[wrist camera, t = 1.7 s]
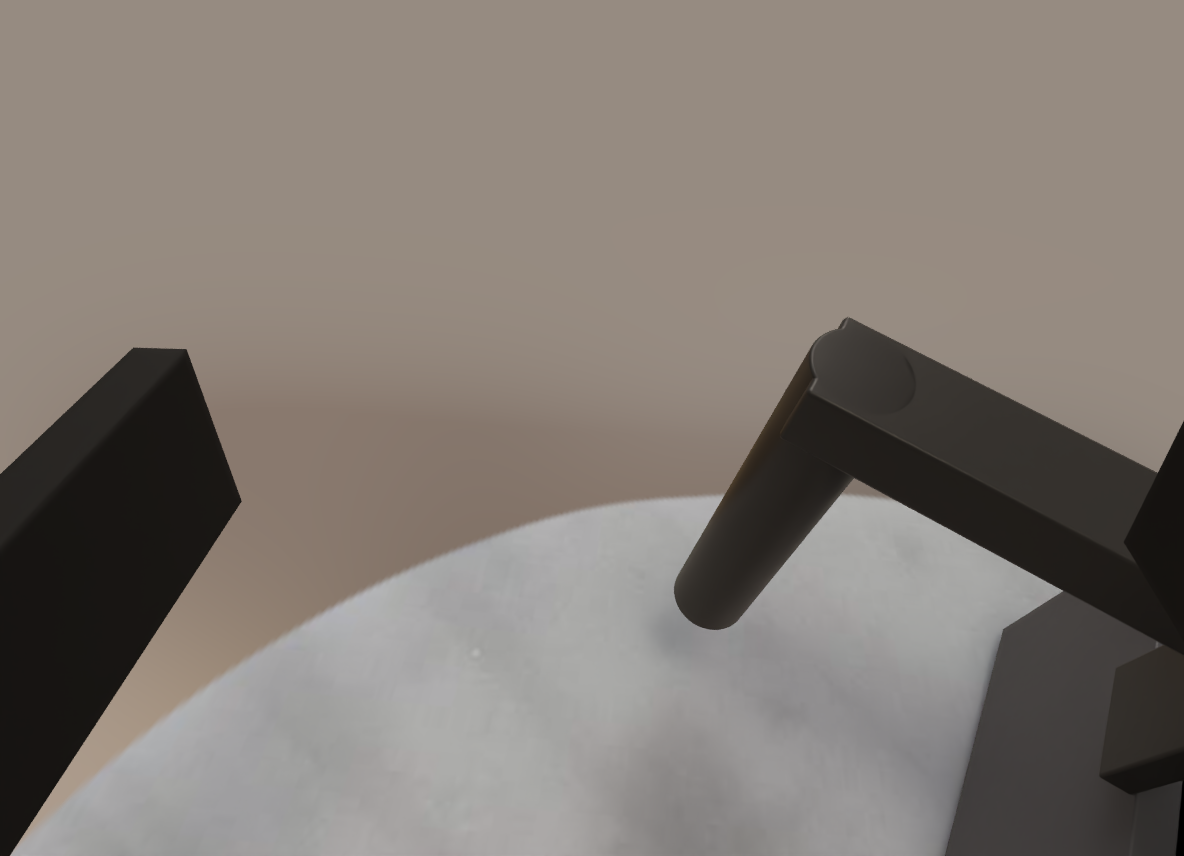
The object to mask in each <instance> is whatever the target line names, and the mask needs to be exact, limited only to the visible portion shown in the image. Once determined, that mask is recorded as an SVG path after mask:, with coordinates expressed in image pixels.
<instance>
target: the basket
mask: <svg viewBox="0 0 1184 856" xmlns="http://www.w3.org/2000/svg"><path fill="white" fill-rule="evenodd" d="M1157 474H1158V473H1157V472H1155V471H1153V470H1151V469H1149V468H1147V467H1145V466H1143V465H1141V464H1139V463H1137V462H1135V461H1133V460H1131V459H1129V458H1127V457H1125V456H1123V455H1121V454H1119V453H1117V452H1115V451H1113V450H1111V449H1109V448H1107V447H1105V446H1103V445H1101V444H1099V443H1097V442H1095V441H1093V440H1091V439H1089V438H1087V437H1085V436H1083V435H1081V434H1079V433H1077V432H1075V431H1074V430H1072V429H1070V428H1068V427H1066V426H1064V425H1062V424H1060V423H1058V422H1056V421H1054V420H1052V419H1050V418H1048V417H1046V416H1044V415H1042V414H1040V413H1038V412H1036V411H1034V410H1032V409H1030V408H1028V407H1026V406H1024V405H1022V404H1020V403H1018V402H1016V401H1014V400H1012V399H1010V398H1008V397H1006V396H1004V395H1002V394H1000V393H998V392H996V391H994V390H992V389H990V388H988V387H986V386H984V385H982V384H980V383H978V382H976V381H974V380H972V379H970V378H968V377H966V376H964V375H962V374H960V373H959V372H957V371H954V370H953V369H951V368H948V367H946V366H945V365H942V364H941V363H939V362H937V361H935V360H933V359H931V358H929V357H927V356H925V355H923V354H921V353H919V352H917V351H915V350H913V349H911V348H909V347H907V346H905V345H903V344H901V343H899V342H897V341H895V340H893V339H891V338H889V337H887V336H885V335H883V334H881V333H879V332H877V331H875V330H873V329H871V328H869V327H867V326H865V325H863V324H861V323H859V322H857V321H855V320H853V319H851V318H848V317H847V318H845V319H844V320H843V321H842V323H841V324H840V326H839V328H838V329H835V330H832V331H829V332H827V333H825V334H824V335H822V336H820V337H819V338H818V339H817V340H816V341H815V342H814V344H813V345H812V347H811V348H810V350H809V352H808V354H807V355H806V357H805V359H804V360H803V362H802V364H801V365H800V367H799V369H798V371H797V372H796V374H795V376H794V377H793V379H792V381H791V383H790V385H789V386H788V388H787V389H786V391H785V393H784V395H783V396H782V398H781V400H780V402H779V403H778V405H777V407H776V408H775V410H774V412H773V413H772V415H771V417H770V419H769V420H768V422H767V424H766V425H765V427H764V429H763V431H762V432H761V434H760V436H759V437H758V439H757V441H756V442H755V444H754V446H753V448H752V449H751V451H750V453H749V455H748V456H747V458H746V460H745V461H744V463H743V465H742V467H741V468H740V470H739V472H738V473H737V475H736V477H735V478H734V480H733V482H732V484H731V485H730V487H729V489H728V490H727V492H726V494H725V496H724V497H723V499H722V501H721V502H720V504H719V506H718V508H717V509H716V511H715V513H714V514H713V516H712V518H711V520H710V521H709V523H708V525H707V526H706V528H705V530H704V532H703V533H702V535H701V537H700V538H699V540H698V542H697V544H696V545H695V547H694V549H693V550H692V552H691V554H690V556H689V557H688V559H687V561H686V562H685V564H684V566H683V568H682V569H681V571H680V573H679V574H678V576H677V578H676V581H675V586H674V594H675V599H676V602H677V605H678V607H679V609H680V611H681V612H682V613H683V615H684V616H685V617H686V618H687V619H688V620H690V621H691V622H692V623H694V624H695V625H697V626H699V627H702V628H706V629H711V630H719V629H724V628H727V627H729V626H731V625H733V624H734V623H736V622H737V621H738V620H739V618H740V617H741V616H742V615H743V613H744V612H745V611H746V610H747V609H748V607H749V606H750V605H751V604H752V602H753V601H754V600H755V599H756V598H757V596H758V595H759V594H760V593H761V591H762V590H763V589H764V588H765V586H766V585H767V584H768V583H769V582H770V580H771V579H772V578H773V577H774V575H775V574H776V573H777V572H778V571H779V569H780V568H781V567H782V566H783V564H784V563H785V562H786V561H787V560H788V558H789V557H790V556H791V555H792V553H793V552H794V551H795V550H796V548H797V547H798V546H799V545H800V544H801V542H802V541H803V540H804V539H805V537H806V536H807V535H808V534H809V533H810V531H811V530H812V529H813V528H814V526H815V525H816V524H817V523H818V522H819V520H820V519H821V518H822V517H823V515H824V514H825V513H826V512H827V510H828V509H829V508H830V507H831V506H832V504H833V503H834V502H835V501H836V499H837V498H838V497H839V496H840V495H841V493H842V492H843V491H844V490H845V488H846V487H847V486H848V485H849V483H850V482H851V481H852V480H853V479H854V478H855V479H857V480H859V481H861V482H863V483H865V484H866V485H868V486H870V487H872V488H874V489H876V490H878V491H879V492H881V493H883V494H885V495H887V496H889V497H890V498H892V499H894V500H896V501H898V502H900V503H902V504H903V505H905V506H907V507H909V508H911V509H913V510H915V511H916V512H918V513H920V514H922V515H924V516H926V517H928V518H929V519H931V520H933V521H935V522H937V523H939V524H941V525H942V526H944V527H946V528H948V529H950V530H952V531H954V532H955V533H957V534H959V535H961V536H963V537H965V538H966V539H968V540H970V541H972V542H974V543H976V544H978V545H979V546H981V547H983V548H985V549H987V550H989V551H991V552H992V553H994V554H996V555H998V556H1000V557H1002V558H1004V559H1005V560H1007V561H1009V562H1011V563H1013V564H1015V565H1017V566H1018V567H1020V568H1022V569H1024V570H1026V571H1028V572H1030V573H1031V574H1033V575H1035V576H1037V577H1039V578H1041V579H1043V580H1044V581H1046V582H1048V583H1050V584H1052V585H1054V586H1056V587H1057V588H1059V589H1061V590H1063V592H1061V593H1060V594H1058V595H1057V596H1055V597H1053V598H1052V599H1050V600H1049V601H1047V602H1046V603H1044V604H1042V605H1041V606H1039V607H1038V608H1036V609H1035V610H1033V611H1031V612H1030V613H1028V614H1027V615H1025V616H1024V617H1022V618H1020V619H1019V620H1017V621H1016V622H1014V623H1013V624H1011V625H1009V626H1008V627H1006V628H1005V629H1004V630H1003V633H1002V637H1001V641H1000V644H999V648H998V652H997V656H996V660H995V664H994V668H993V672H992V676H991V679H990V683H989V687H988V691H987V695H986V699H985V703H984V707H983V711H982V715H981V718H980V722H979V726H978V730H977V734H976V738H975V742H974V746H973V750H972V753H971V757H970V761H969V765H968V769H967V773H966V777H965V781H964V785H963V788H962V792H961V796H960V800H959V804H958V808H957V812H956V816H955V820H954V823H953V827H952V831H951V835H950V839H949V843H948V847H947V851H946V855H945V856H1184V641H1183V639H1182V637H1181V636H1180V634H1179V632H1178V631H1177V629H1176V627H1175V626H1174V624H1173V622H1172V621H1171V619H1170V618H1169V616H1168V614H1167V613H1166V611H1165V609H1164V608H1163V606H1162V604H1161V603H1160V601H1159V599H1158V598H1157V596H1156V595H1155V593H1154V591H1153V590H1152V588H1151V586H1150V585H1149V583H1148V581H1147V580H1146V578H1145V576H1144V575H1143V573H1142V572H1141V570H1140V568H1139V567H1138V565H1137V563H1136V562H1135V560H1134V558H1133V557H1132V555H1131V553H1130V552H1129V550H1128V549H1127V547H1126V545H1125V544H1124V540H1125V538H1126V536H1127V534H1128V532H1129V530H1130V528H1131V526H1132V524H1133V522H1134V520H1135V518H1136V516H1137V514H1138V512H1139V510H1140V508H1141V506H1142V504H1143V502H1144V500H1145V498H1146V496H1147V494H1148V492H1149V490H1150V488H1151V486H1152V484H1153V482H1154V480H1155V478H1156V476H1157Z"/></svg>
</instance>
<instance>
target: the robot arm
mask: <svg viewBox="0 0 1184 856" xmlns="http://www.w3.org/2000/svg"><path fill="white" fill-rule="evenodd" d="M240 503H241V498H240V495H239V493H238V490H237V487H236V485H235V482H234V479H233V476H232V474H231V471H230V468H229V465H228V463H227V460H226V457H225V454H224V451H223V449H222V446H221V443H220V441H219V438H218V435H217V432H216V429H215V427H214V424H213V421H212V418H211V416H210V413H209V410H208V407H207V405H206V402H205V400H204V396H203V394H202V391H201V388H200V385H199V383H198V380H197V377H196V374H195V371H194V369H193V366H192V363H191V360H190V358H189V355H188V352H187V350H186V349H157V348H133V349H132V350H131V351H129V352H128V353H127V354H126V355H125V356H124V357H123V358H122V359H121V360H120V361H119V362H118V363H117V364H116V365H115V366H114V367H113V368H112V369H110V371H108V372H107V373H106V374H105V375H104V376H103V377H102V378H101V379H100V380H99V381H98V382H97V383H96V384H95V385H94V386H93V387H92V388H91V389H89V390H88V391H87V393H85V394H84V395H83V396H82V397H81V398H80V399H79V400H78V401H77V402H76V403H75V404H74V405H73V406H72V407H71V408H69V410H67V412H65V413H64V414H63V415H62V416H61V417H60V418H59V419H58V420H57V421H56V422H55V423H54V424H53V425H52V426H51V427H50V428H48V429H47V430H46V431H45V432H44V433H43V434H42V435H41V436H40V437H39V438H38V439H37V440H36V441H35V442H34V443H33V444H32V445H31V446H30V447H28V449H26V450H25V451H24V452H23V453H22V454H21V455H20V456H19V457H18V458H17V459H16V460H15V461H14V462H13V463H12V464H11V465H10V466H8V467H7V468H6V469H5V470H4V471H3V472H2V473H1V474H0V856H10V855H11V853H12V852H13V850H14V848H15V847H16V845H17V844H18V842H19V841H20V839H21V838H22V836H23V835H24V833H25V832H26V830H27V829H28V827H29V826H30V824H31V822H32V821H33V819H34V818H35V816H36V815H37V813H38V812H39V810H40V809H41V807H42V806H43V804H44V802H45V801H46V799H47V798H48V796H49V795H50V793H51V792H52V790H53V789H54V787H55V786H56V784H57V783H58V781H59V779H60V778H61V777H62V775H63V774H64V772H65V771H66V769H67V767H68V766H69V764H70V763H71V761H72V760H73V758H74V757H75V755H76V754H77V752H78V751H79V749H80V747H81V746H82V745H83V743H84V741H85V740H86V738H87V737H88V735H89V734H90V732H91V731H92V729H93V728H94V726H95V725H96V723H97V722H98V720H99V719H100V717H101V715H102V714H103V712H104V711H105V709H106V708H107V706H108V705H109V703H110V702H111V700H112V699H113V697H114V696H115V694H116V692H117V691H118V689H119V688H120V686H121V685H122V683H123V682H124V680H125V679H126V677H127V676H128V674H129V673H130V671H131V670H132V668H133V667H134V665H135V664H136V662H137V660H138V659H139V657H140V656H141V654H142V653H143V651H144V650H145V648H146V647H147V645H148V643H149V642H150V641H151V639H152V638H153V636H154V635H155V633H156V631H157V630H158V628H159V627H160V625H161V624H162V622H163V621H164V619H165V618H166V616H167V615H168V613H169V612H170V610H171V608H172V607H173V605H174V604H175V602H176V601H177V599H178V598H179V596H180V595H181V593H182V592H183V590H184V589H185V587H186V586H187V584H188V583H189V581H190V579H191V578H192V576H193V575H194V573H195V572H196V570H197V569H198V567H199V566H200V564H201V563H202V561H203V560H204V558H205V557H206V555H207V554H208V552H209V550H210V549H211V547H212V546H213V544H214V543H215V541H216V540H217V538H218V537H219V535H220V534H221V532H222V531H223V529H224V528H225V526H226V524H227V523H228V521H229V520H230V518H231V517H232V515H233V514H234V512H235V511H236V509H237V508H238V506H239V504H240ZM1124 544H1125V545H1126V547H1127V549H1128V550H1129V552H1130V553H1131V555H1132V557H1133V558H1134V560H1135V562H1136V563H1137V565H1138V567H1139V568H1140V570H1141V572H1142V573H1143V575H1144V576H1145V578H1146V580H1147V581H1148V583H1149V585H1150V586H1151V588H1152V590H1153V591H1154V593H1155V595H1156V596H1157V598H1158V599H1159V601H1160V603H1161V604H1162V606H1163V608H1164V609H1165V611H1166V613H1167V614H1168V616H1169V618H1170V619H1171V621H1172V622H1173V624H1174V626H1175V627H1176V629H1177V631H1178V632H1179V634H1180V636H1181V637H1182V639H1183V641H1184V422H1183V424H1182V426H1181V428H1180V430H1179V432H1178V434H1177V436H1176V438H1175V440H1174V442H1173V444H1172V446H1171V448H1170V450H1169V452H1168V454H1167V456H1166V458H1165V460H1164V462H1163V464H1162V466H1161V468H1160V470H1159V472H1158V474H1157V476H1156V478H1155V480H1154V482H1153V484H1152V486H1151V488H1150V490H1149V492H1148V494H1147V496H1146V498H1145V500H1144V502H1143V504H1142V506H1141V508H1140V510H1139V512H1138V514H1137V516H1136V518H1135V520H1134V522H1133V524H1132V526H1131V528H1130V530H1129V532H1128V534H1127V536H1126V538H1125V540H1124Z"/></svg>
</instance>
